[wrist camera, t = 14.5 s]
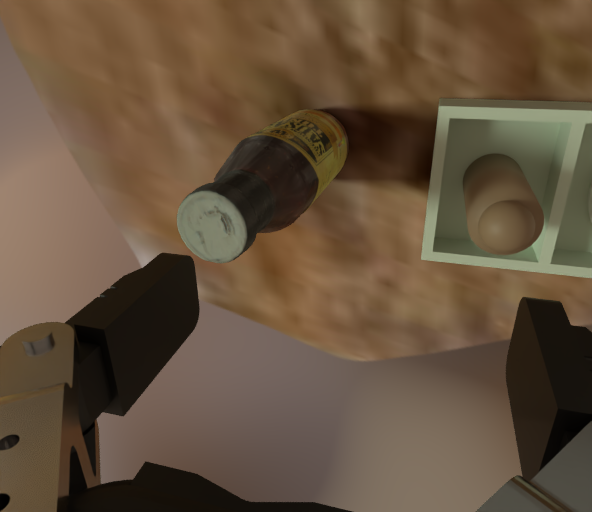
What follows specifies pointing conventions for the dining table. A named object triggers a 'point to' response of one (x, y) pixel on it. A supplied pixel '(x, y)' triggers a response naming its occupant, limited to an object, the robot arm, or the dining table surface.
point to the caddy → (511, 186)
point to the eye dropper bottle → (590, 202)
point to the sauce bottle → (263, 185)
